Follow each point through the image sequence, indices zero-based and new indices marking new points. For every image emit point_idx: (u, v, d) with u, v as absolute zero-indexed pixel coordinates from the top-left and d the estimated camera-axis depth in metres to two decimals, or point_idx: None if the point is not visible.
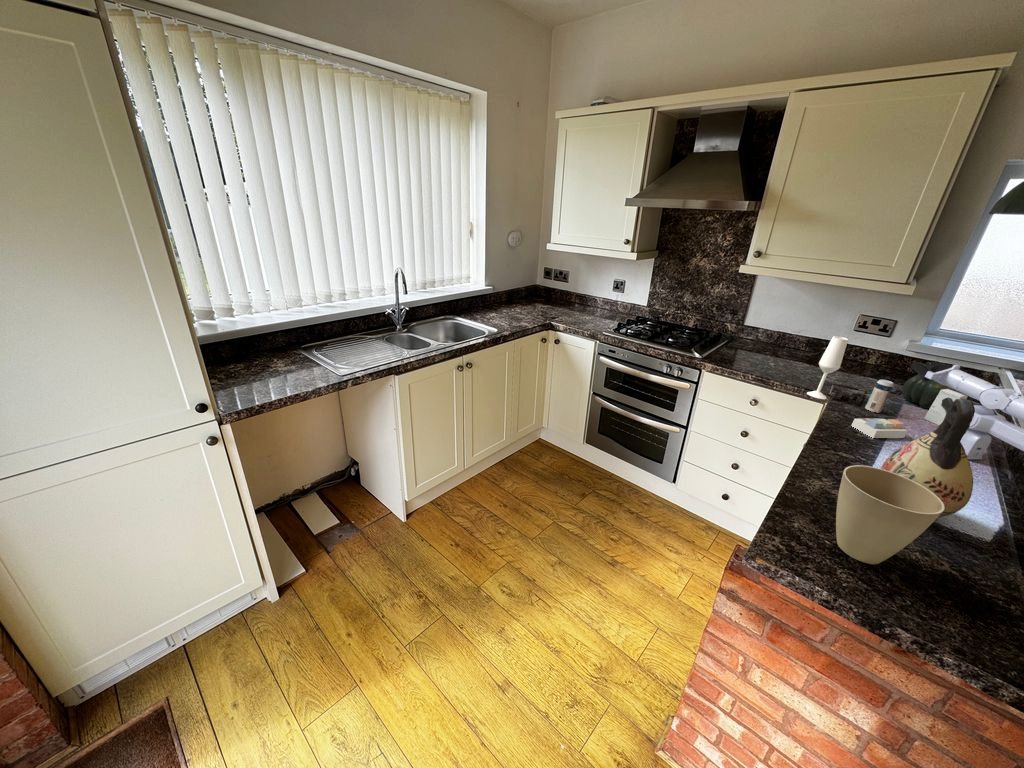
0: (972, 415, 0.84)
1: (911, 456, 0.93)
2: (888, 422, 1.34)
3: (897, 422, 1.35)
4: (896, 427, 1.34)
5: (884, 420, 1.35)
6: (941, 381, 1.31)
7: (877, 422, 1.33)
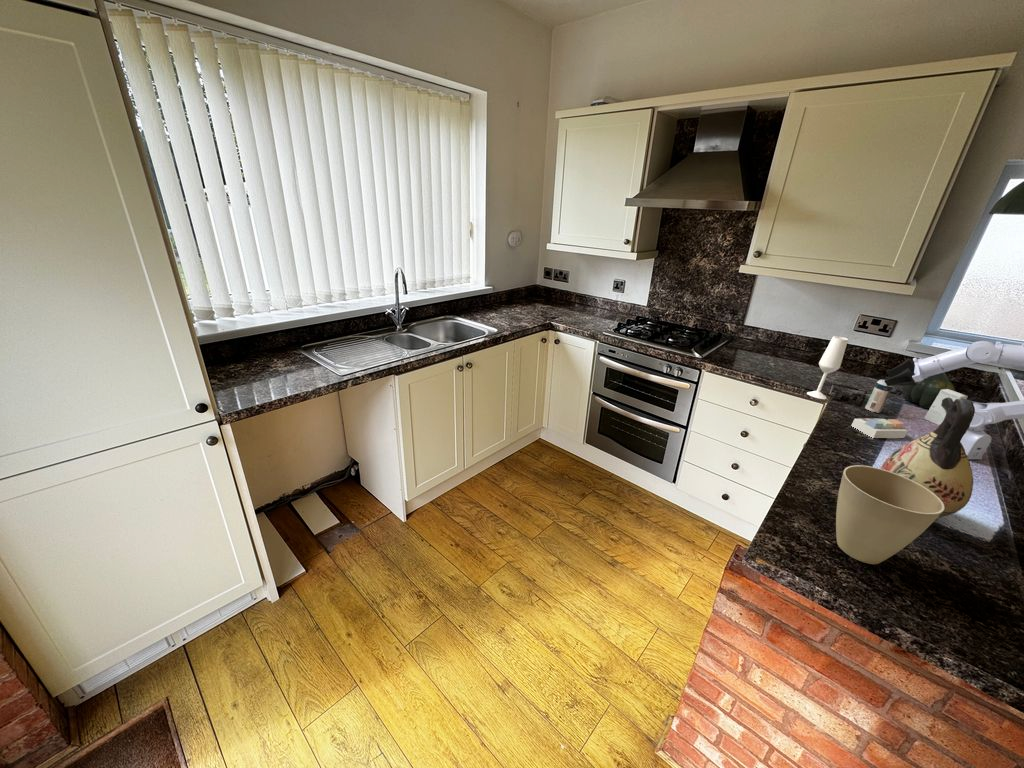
0: (972, 415, 0.84)
1: (911, 456, 0.93)
2: (888, 422, 1.34)
3: (897, 422, 1.35)
4: (896, 427, 1.34)
5: (884, 420, 1.35)
6: (925, 375, 1.30)
7: (877, 422, 1.33)
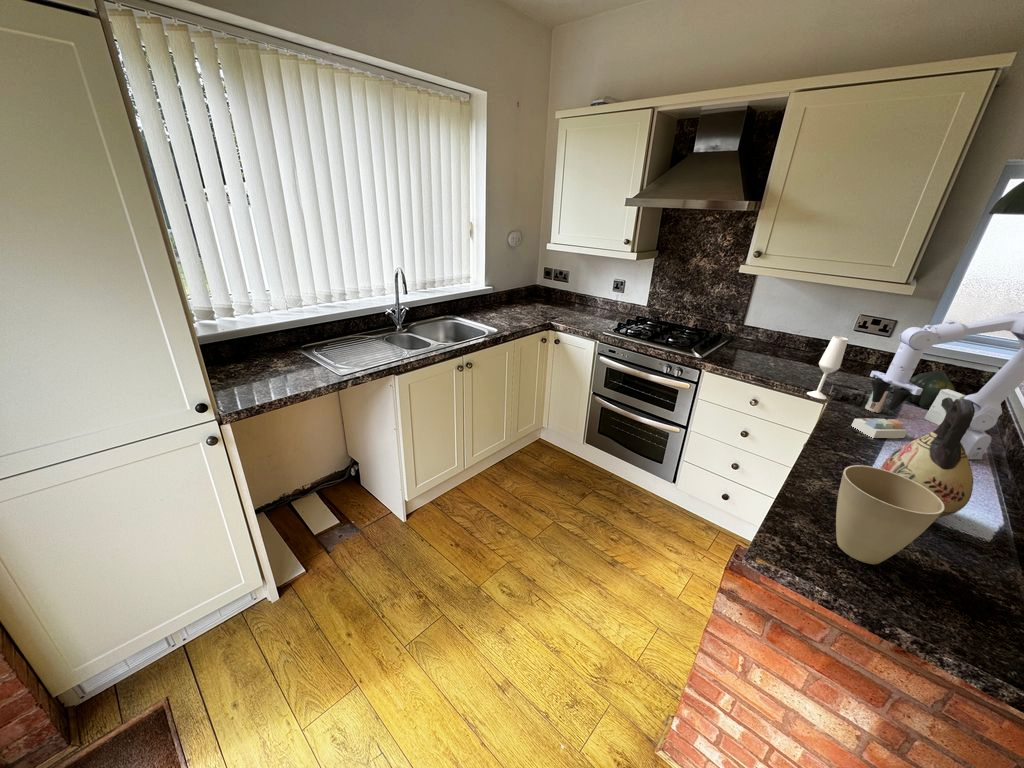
0: (972, 415, 0.84)
1: (911, 456, 0.93)
2: (888, 422, 1.34)
3: (897, 422, 1.35)
4: (896, 427, 1.34)
5: (884, 420, 1.35)
6: (908, 382, 1.26)
7: (877, 422, 1.33)
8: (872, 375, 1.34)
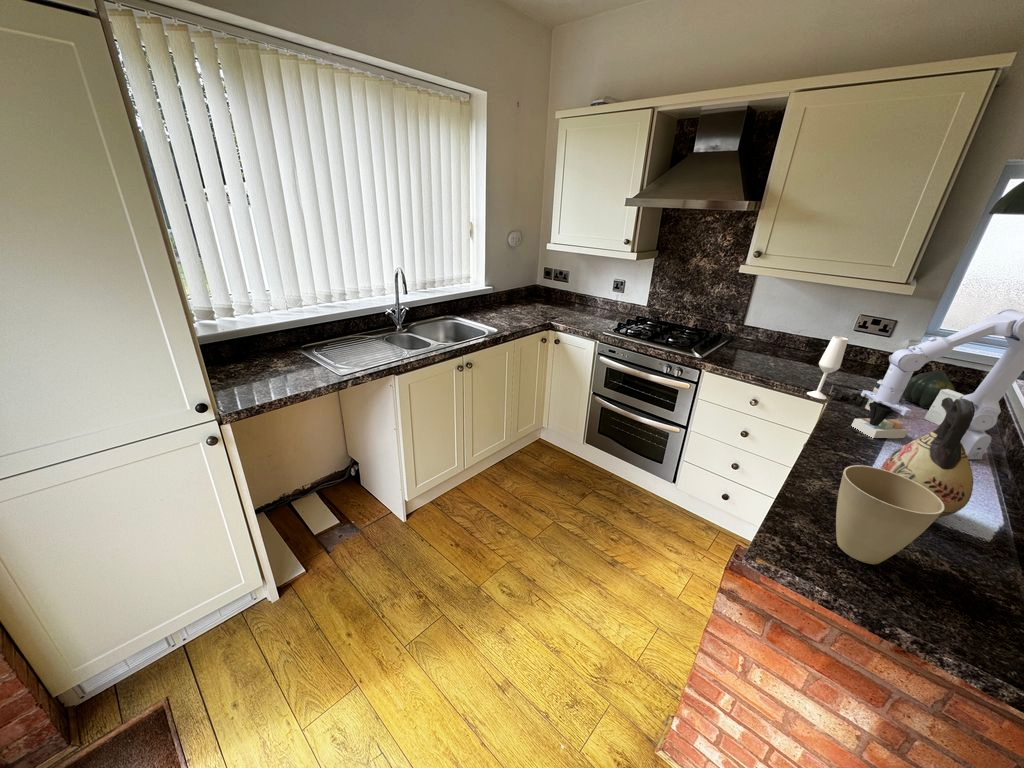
0: (972, 415, 0.84)
1: (911, 456, 0.93)
2: (888, 422, 1.34)
3: (897, 422, 1.35)
4: (896, 427, 1.34)
5: (884, 420, 1.35)
6: (898, 403, 1.29)
7: None
8: (863, 394, 1.37)
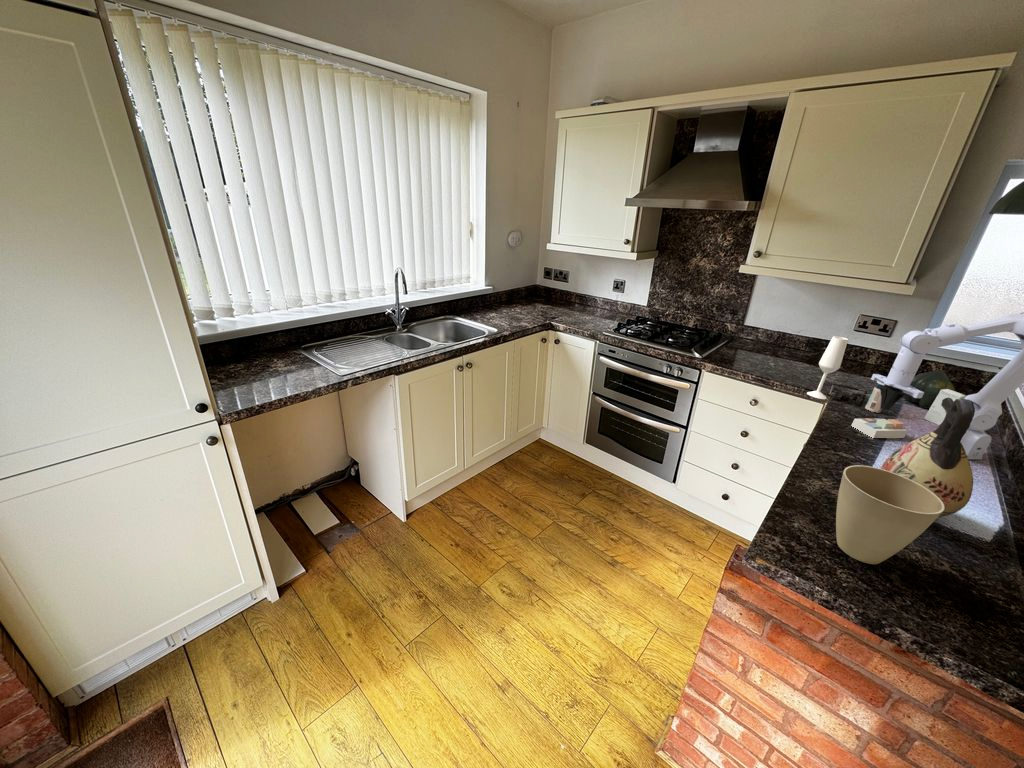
0: (972, 415, 0.84)
1: (911, 456, 0.93)
2: (888, 422, 1.34)
3: (897, 422, 1.35)
4: (896, 427, 1.34)
5: (884, 420, 1.35)
6: (909, 386, 1.27)
7: (875, 425, 1.34)
8: (873, 378, 1.35)
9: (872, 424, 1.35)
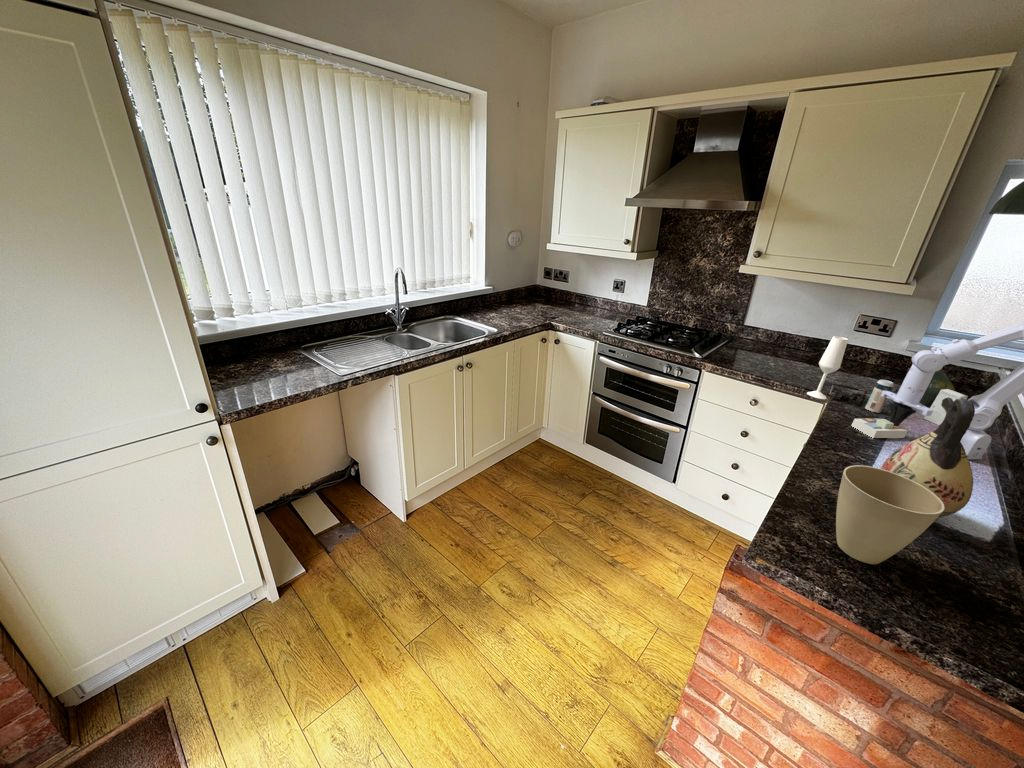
0: (972, 415, 0.84)
1: (911, 456, 0.93)
2: (888, 422, 1.34)
3: None
4: None
5: (884, 420, 1.35)
6: (919, 403, 1.30)
7: (875, 425, 1.34)
8: (883, 395, 1.39)
9: (872, 424, 1.35)
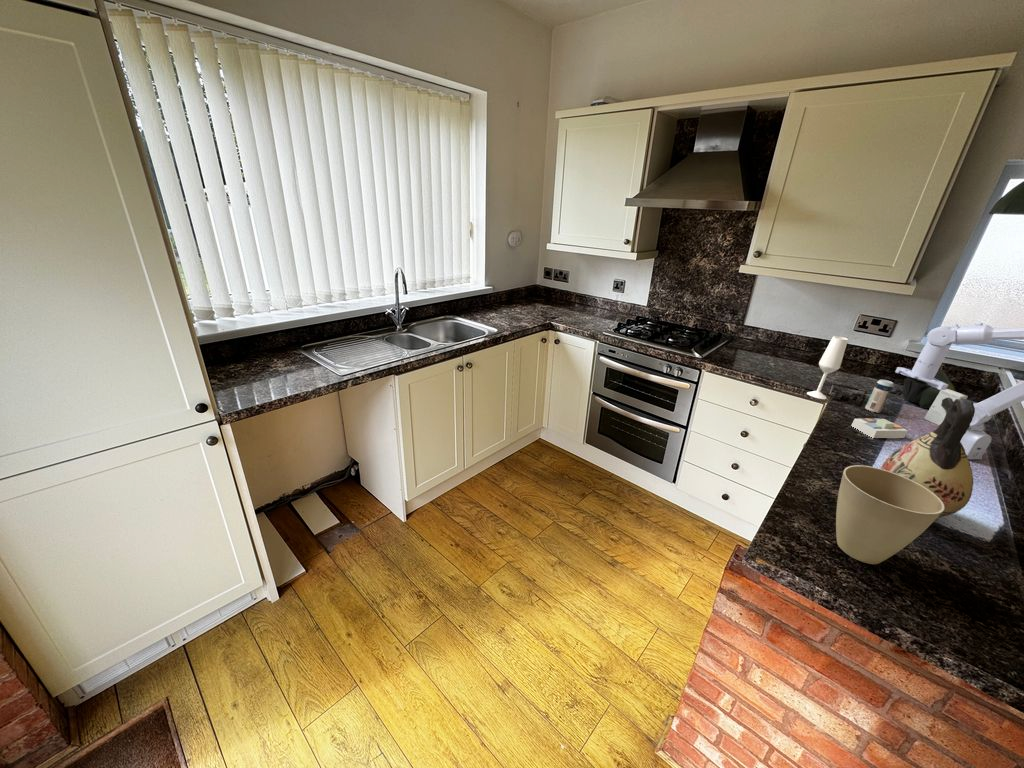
0: (972, 415, 0.84)
1: (911, 456, 0.93)
2: (888, 422, 1.34)
3: (895, 425, 1.35)
4: None
5: (884, 420, 1.35)
6: (934, 378, 1.32)
7: (875, 425, 1.34)
8: (897, 371, 1.41)
9: (872, 424, 1.35)
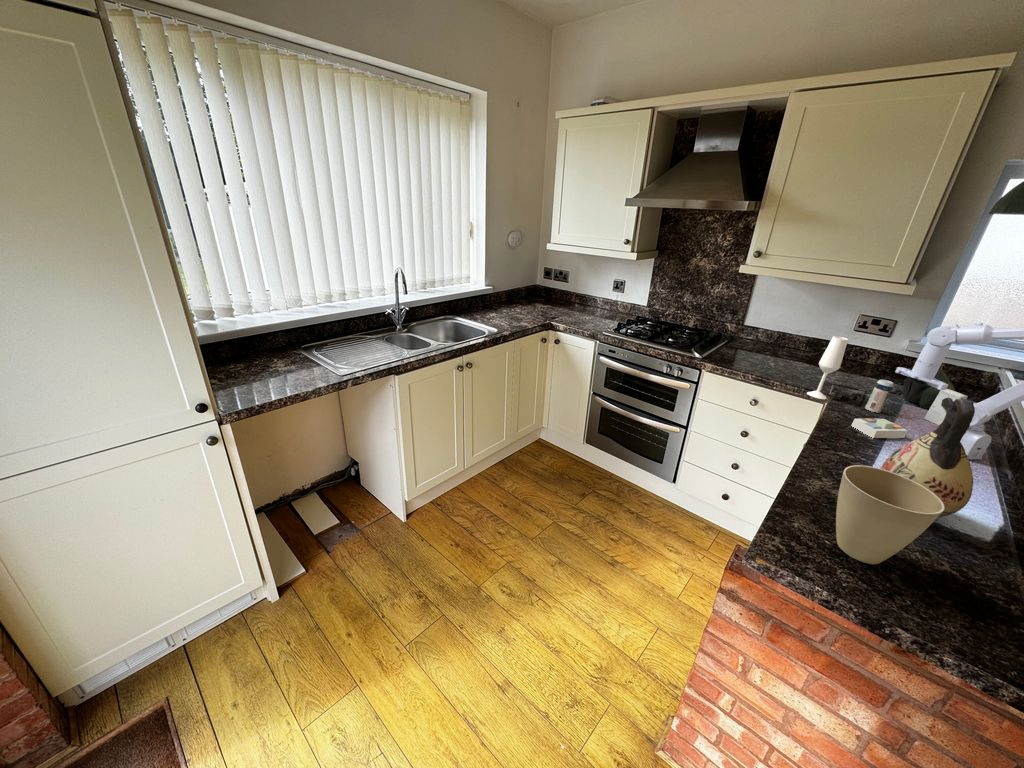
0: (972, 415, 0.84)
1: (911, 456, 0.93)
2: (888, 422, 1.34)
3: (895, 425, 1.35)
4: None
5: (884, 420, 1.35)
6: (934, 378, 1.32)
7: (875, 425, 1.34)
8: (897, 371, 1.41)
9: (872, 424, 1.35)
